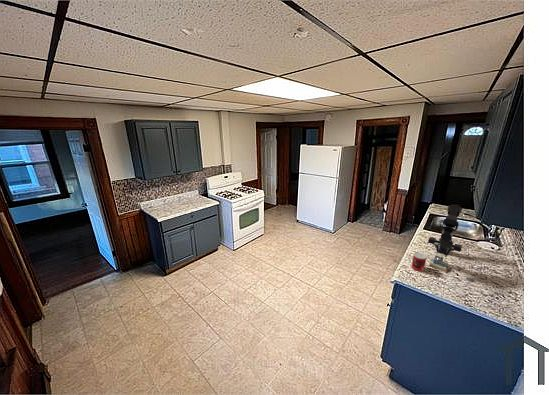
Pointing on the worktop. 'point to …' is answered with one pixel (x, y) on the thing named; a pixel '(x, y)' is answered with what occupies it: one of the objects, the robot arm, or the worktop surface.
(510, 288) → the worktop surface
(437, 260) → the housing
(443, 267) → the stand
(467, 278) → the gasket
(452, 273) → the worktop surface
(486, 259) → the worktop surface
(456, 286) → the worktop surface
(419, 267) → the canned food
